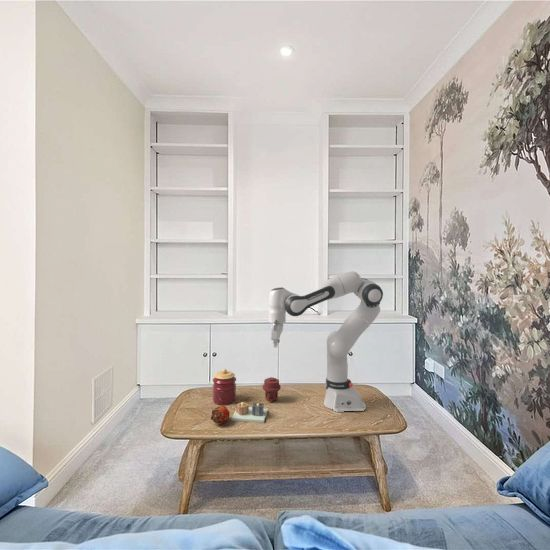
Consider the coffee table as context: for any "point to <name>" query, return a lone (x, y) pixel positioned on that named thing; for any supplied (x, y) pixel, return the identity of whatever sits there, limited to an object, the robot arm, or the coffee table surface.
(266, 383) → the mechanical component
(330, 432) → the coffee table surface
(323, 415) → the coffee table surface
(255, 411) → the loose gear
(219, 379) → the canister
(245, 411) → the gear board
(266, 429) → the coffee table surface
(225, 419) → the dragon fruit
